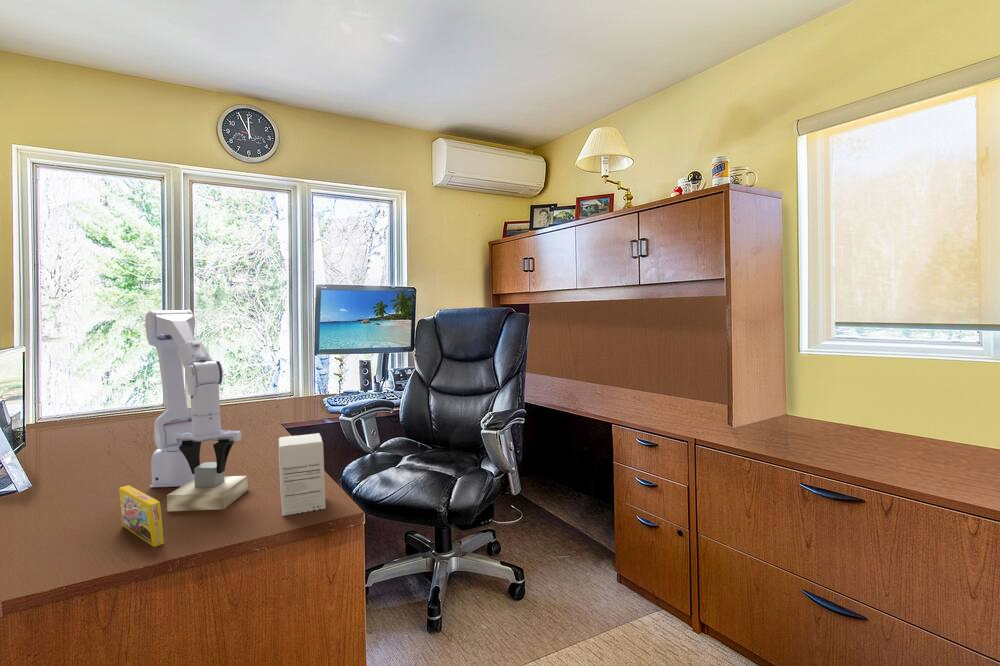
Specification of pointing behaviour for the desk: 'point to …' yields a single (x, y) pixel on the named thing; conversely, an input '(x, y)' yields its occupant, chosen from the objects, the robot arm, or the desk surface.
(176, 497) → the birch block
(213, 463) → the slate cube
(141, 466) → the desk surface
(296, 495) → the supplement box
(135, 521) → the candy box
